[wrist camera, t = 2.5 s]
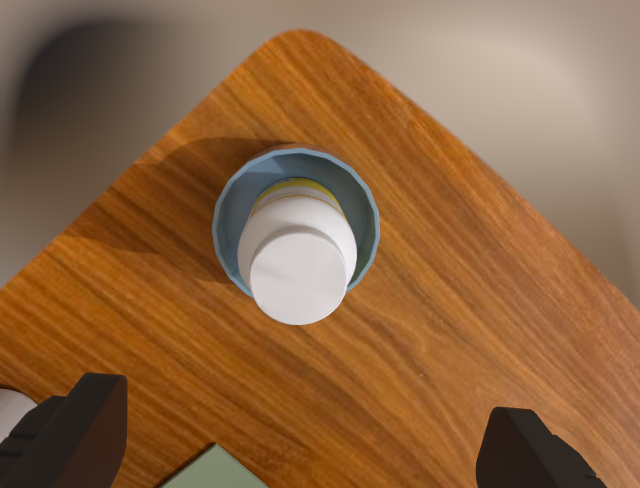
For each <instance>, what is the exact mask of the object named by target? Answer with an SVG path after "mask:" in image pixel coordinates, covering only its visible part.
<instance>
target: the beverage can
mask: <svg viewBox="0 0 640 488" xmlns="http://www.w3.org/2000/svg"><path fill="white" fill-rule="evenodd" d="M36 406H38V405H37V404H36V403H35V402H34V401H33V400H31V399H30V398H29V397H27V396H26V395H24V394H22V393H20V392H17V391H13V390H8V389H0V443H1V442H2V441H3V440H4V439H5V437H8V436H9V433H10V432H11V430H12V429H13V428H14V427H15V426H16V425H17V423H18V422H19V421H20V420H21V419H22V418H23V416H24V415H25V414H26V413H27V412H28V411H30V410H31V409H33V408H34V407H36Z"/></svg>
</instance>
